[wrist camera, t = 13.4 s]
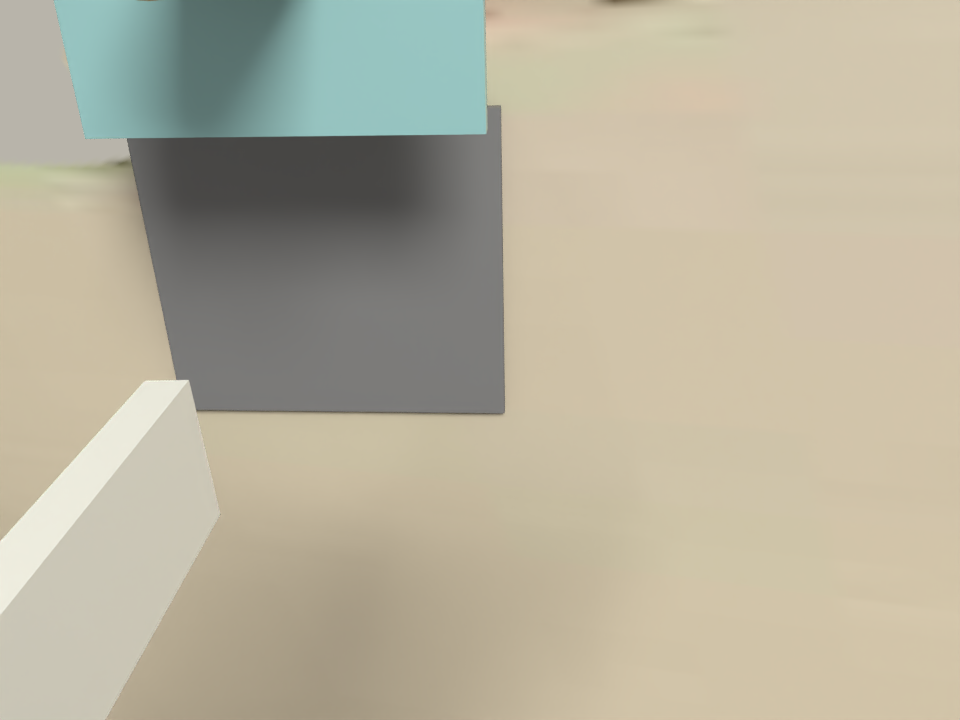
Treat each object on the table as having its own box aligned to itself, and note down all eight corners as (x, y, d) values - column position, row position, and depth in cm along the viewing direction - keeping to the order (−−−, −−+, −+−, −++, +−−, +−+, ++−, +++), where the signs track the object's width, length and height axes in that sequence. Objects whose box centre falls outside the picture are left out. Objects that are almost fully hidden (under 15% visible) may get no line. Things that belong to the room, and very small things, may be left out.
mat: (186, 404, 53) (182, 409, 53) (126, 110, 45) (121, 112, 45) (504, 408, 52) (504, 413, 51) (500, 105, 44) (500, 107, 43)
